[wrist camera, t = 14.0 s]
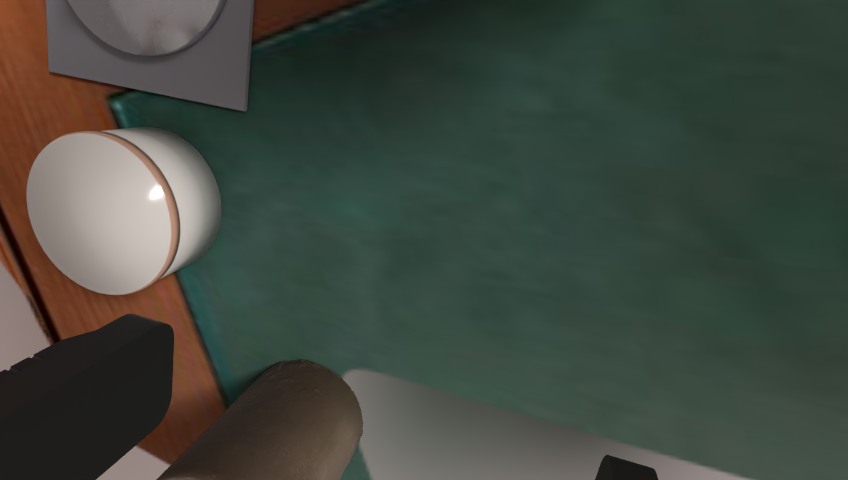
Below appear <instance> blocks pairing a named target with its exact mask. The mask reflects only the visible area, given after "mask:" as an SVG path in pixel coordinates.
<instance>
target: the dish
mask: <svg viewBox="0 0 848 480" xmlns="http://www.w3.org/2000/svg"><path fill="white" fill-rule="evenodd" d="M27 207H28V213H29V218H30V222H31V225H32V228H33V231H34V233H35V235H36V237H37V240H38V241H39V243H40V245H41V247H42V249H43V250H44V252H45V253H46V254H47V256H48V257H49V259H50V260H51V261H52V262H53V263H54V265H55V266H56V267H57V268H58V269H59V270H60V271H61V272H62V273H63V274H65V275H66V276H67V277H69V278H70V279H71V280H73V281H74V282H76V283H77V284H79V285H81V286H83V287H85V288H87V289H89V290H92V291H95V292H98V293H103V294H108V295H126V294H131V293H135V292H137V291H140V290H142V289H144V288H146V287H148V286H150V285H152V284H153V283H155V282H156V281H158V280H159V279H161V278H163V277H165V276H167V275H169V274H171V273H173V272H175V271H177V270H179V269H181V268H183V267H185V266H187V265H189V264H191V263H193V262H195V261H197V260H198V259H200V258H201V257H202V256H203V255H204V254H206V253H207V251H208V250H209V249H210V248H211V246H212V245H213V243H214V241H215V239H216V237H217V235H218V232H219V228H220V224H221V216H222V205H221V197H220V192H219V188H218V185H217V182H216V180H215V177H214V175H213V173H212V171H211V169H210V167H209V166H208V164H207V162H206V161H205V159H204V158H203V157H202V156H201V154H200V153H199V152H198V151H197V150H196V149H195V148H194V147H193V146H192V145H191V144H190V143H188V142H187V141H186V140H184V139H183V138H181V137H180V136H178V135H176V134H174V133H172V132H170V131H168V130H165V129H161V128H157V127H133V128H124V129H114V130H105V131H80V132H74V133H68V134H66V135H63V136H60V137H58V138H57V139H55V140H53V141H52V142H51V143H49V144H48V145H47V146H46V147H45V148H44V149H43V150H42V151H41V152H40V153H39V155H38V156H37V158H36V159H35V161H34V163H33V165H32V168H31V170H30V174H29V178H28V183H27Z"/></svg>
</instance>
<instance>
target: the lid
mask: <svg viewBox="0 0 848 480" xmlns="http://www.w3.org/2000/svg"><path fill="white" fill-rule="evenodd" d="M68 2H69V4H70V5H71V7H72V9H73V10H74V12H75V13H76V15H77V16H78V17H79V18H80V20H81V21H82V22H83V23H84V24H85V25H86V26H87V27H88V28H89V29H90V30H91V31H92V32H93V33H94V34H95V35H96V36H98V37H99V38H100V39H101V40H103V41H104V42H106V43H108V44H109V45H111V46H113V47H115V48H117V49H119V50H122V51H124V52H128V53H131V54H136V55H145V56H167V55H172V54H176V53H179V52H181V51H184V50H186V49H188V48H190V47H192V46H193V45H195V44H196V43H198V42H199V41H200V40H201V39H203V38H204V37H205V36H206V35H207V33H208V32H209V31H210V30H211V29H212V28H213V26H214V25H215V23H216V22H217V20H218V19H219V17H220V15H221V13H222V11H223V9H224V7H225V4H226V2H227V0H68Z"/></svg>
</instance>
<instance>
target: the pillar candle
mask: <svg viewBox="0 0 848 480" xmlns="http://www.w3.org/2000/svg"><path fill="white" fill-rule="evenodd" d="M362 422H363V421H362V414H361V409H360V406H359V403H358V401H357V398H356V396H355V394H354V392H353V391H352V390H351V388H350V387H349V386H348V385H347V383H346V382H345V381H344V380H343V379H342V378H340V377H338V375H336V373H334V372H333V371H331V370H329V369H328V368H326V367H323V366H321V365H319V364H315V363H313V362H311V361H307V360H292V361H283V362H280V363H278V364H275V365H273V366H272V367H270V368H269V369H267V370H266V371H265V372H264V373H263V374H262V375H261V376H260V377H259V378H258V379H257V380H256V381H255V382H254V383H253V384H252V385H251V386H250V387H249V388H248V389H247V390H245V391H244V392H243V393H242V394H241V396H240V397H239V398H238V399H237V400H236V401H235V402H234V403H233V404H232V405H231V406H230V407H229V408H228V409H227V410H226V411H225V412H224V413H223V414H222V415H221V416H220V417H219V418H218V419H217V420H216V421H215V422H214V423H213V424H212V425H211V426H210V427H209V428H208V429H207V430H206V431H205V432H204V433H203V434H202V435H201V436H200V437H199V438H198V439H197V440H196V441H195V442H194V443H193V444H192V445H191V446H190V447H189V448H188V449H187V450H186V451H185V452H184V453H183V454H182V455H181V456H180V457H179V458H178V459H177V460H176V461H175V462H174V463H173V464H172V465H171V466H170V467H169V468H168V469H167V470H166V471H165V472H164V473H163V474H162V475H161V476H160V477H159V478H158V479H157V480H340V478H341V476H342V474H343V472H344V470H345V468H346V466H347V465H348V464H349V462H350V460H351V458H352V455H353V453H354V451H355V450H356V448H357V445H358V443H359V441H360V438H361V436H362V431H363V430H362V427H363V423H362Z"/></svg>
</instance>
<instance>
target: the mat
mask: <svg viewBox="0 0 848 480" xmlns="http://www.w3.org/2000/svg"><path fill="white" fill-rule="evenodd" d="M46 15H47V40H48V65H49V72H54V73H59V74H64V75H68V76H73V77H78V78H83V79H88V80H93V81H98V82H103V83H108V84H113V85H117V86H122V87H127V88H132V89H137V90H142V91H147V92H152V93H157V94H162V95H166V96H171V97H176V98H181V99H186V100H191V101H196V102H201V103H206V104H211V105H215V106H220V107H225V108H230V109H235V110H240V111H247V104H248V89H249V74H250V59H251V44H252V29H253V15H254V0H227V2H226V4H225V7H224V9H223V11H222V13H221V15H220V17H219V19H218V20H217V22H216V23H215V25H214V26H213V28H212V29H211V30H210V31H209V32H208V33H207V35H206V36H205V37H204V38H203V39H201V40H200V41H199V42H198V43H196V44H195V45H193V46H192V47H190V48H188V49H186V50H184V51H181V52H179V53H176V54H172V55H167V56H145V55H136V54H131V53H128V52H124V51H122V50H119V49H117V48H115V47H113V46H111V45H109V44H108V43H106V42H104V41H103V40H101V39H100V38H99V37H98V36H96V35H95V34H94V33H93V32H92V31H91V30H90V29H89V28H88V27H87V26H86V25H85V24H84V23H83V22H82V21H81V20H80V18H79V17H78V16H77V15H76V13H75V12H74V10H73V9H72V7H71V5H70V4H69V2H68V0H46Z"/></svg>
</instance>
